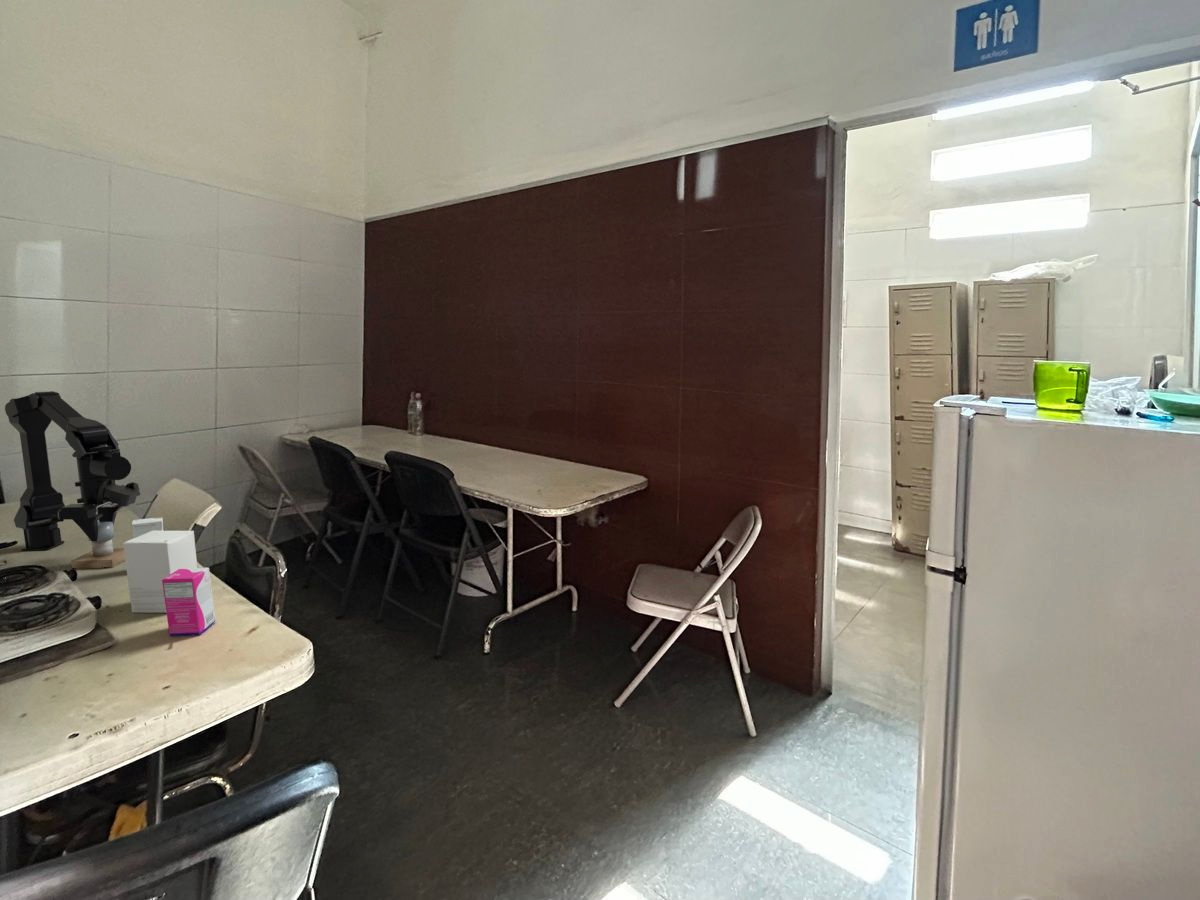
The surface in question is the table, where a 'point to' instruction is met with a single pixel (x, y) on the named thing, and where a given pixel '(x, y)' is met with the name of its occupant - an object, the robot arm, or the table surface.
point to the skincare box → (146, 526)
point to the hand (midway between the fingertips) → (101, 537)
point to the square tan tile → (100, 556)
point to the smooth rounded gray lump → (105, 531)
